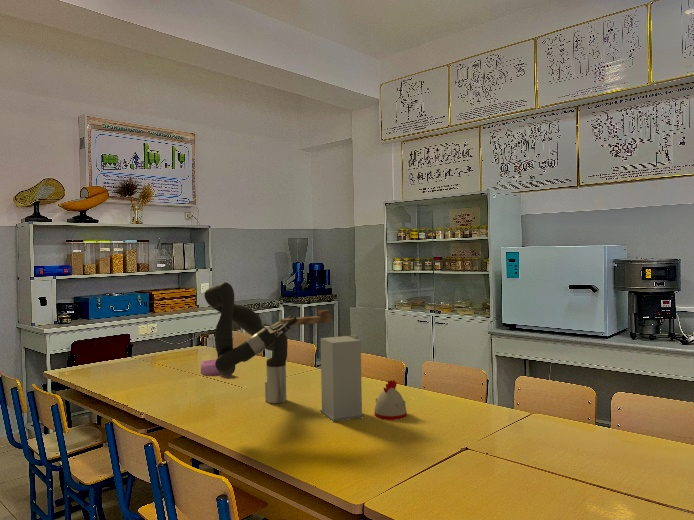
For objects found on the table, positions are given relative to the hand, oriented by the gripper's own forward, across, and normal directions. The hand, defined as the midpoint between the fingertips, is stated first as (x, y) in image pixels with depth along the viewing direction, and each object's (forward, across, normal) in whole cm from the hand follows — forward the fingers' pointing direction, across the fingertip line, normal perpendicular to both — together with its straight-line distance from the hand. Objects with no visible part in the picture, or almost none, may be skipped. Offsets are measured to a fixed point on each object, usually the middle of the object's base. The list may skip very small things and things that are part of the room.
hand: (294, 318), depth 225 cm
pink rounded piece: (-35, -108, -32) cm, 118 cm away
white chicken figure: (+12, +9, -58) cm, 60 cm away
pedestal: (-4, 0, -48) cm, 48 cm away
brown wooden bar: (+3, 0, -5) cm, 6 cm away
